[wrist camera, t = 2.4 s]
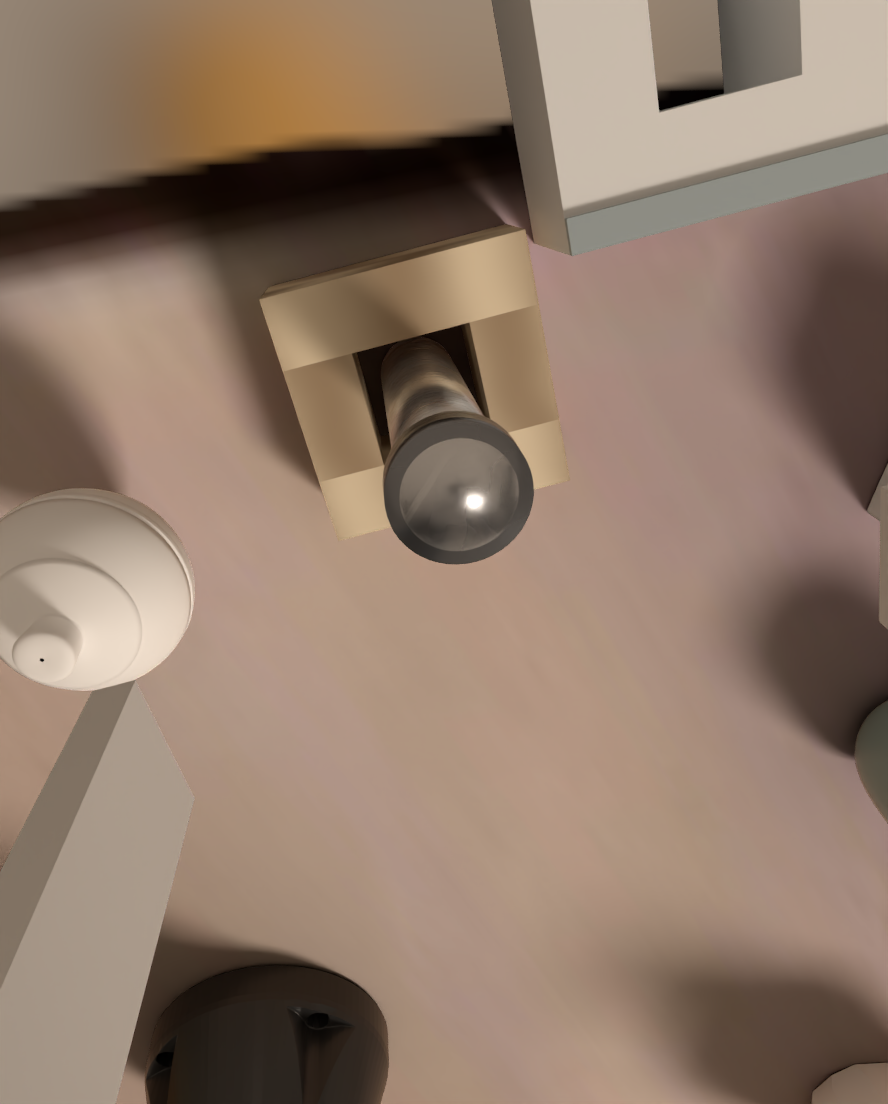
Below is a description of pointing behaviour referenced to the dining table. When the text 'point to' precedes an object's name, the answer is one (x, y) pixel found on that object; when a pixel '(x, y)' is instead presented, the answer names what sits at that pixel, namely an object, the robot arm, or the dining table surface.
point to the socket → (688, 114)
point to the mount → (401, 313)
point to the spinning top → (90, 589)
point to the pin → (447, 461)
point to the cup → (874, 757)
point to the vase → (855, 1086)
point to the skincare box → (878, 496)
